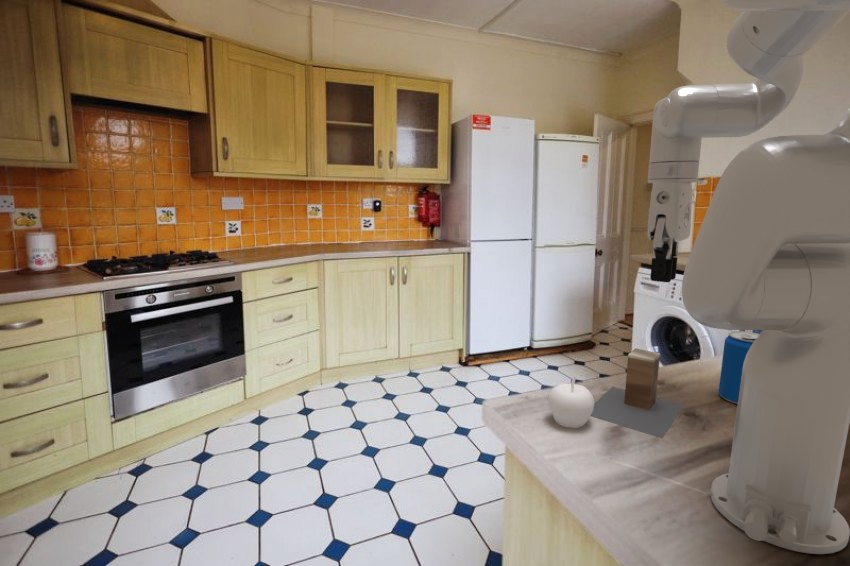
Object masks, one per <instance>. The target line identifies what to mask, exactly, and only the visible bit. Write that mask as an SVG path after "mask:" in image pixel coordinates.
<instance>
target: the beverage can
mask: <svg viewBox="0 0 850 566" xmlns="http://www.w3.org/2000/svg"><path fill="white" fill-rule="evenodd" d="M759 335H760V333H757V332H751V331H746V330H731V331H730V332H728V335H727V337H725V339H724V345H723V352H722V361H721V370H720V376H719V384H718V391H717V393H718V395H719V396H720V397H721V398H723V399H724V400H726V401H728V402H730V403H732V404H736V405H738V399H739V391H740V384H741V376H742V370H743V364H744V360H745V357H746V355H747V353H748V351H749V349H750V347H751V345H752V344H753V342H754V341H755V340H756V338H757V337H758V336H759Z"/></svg>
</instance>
